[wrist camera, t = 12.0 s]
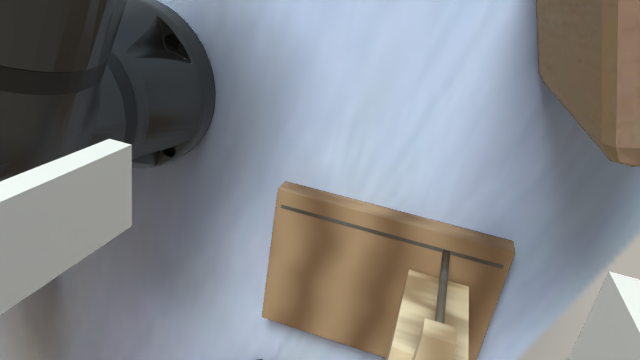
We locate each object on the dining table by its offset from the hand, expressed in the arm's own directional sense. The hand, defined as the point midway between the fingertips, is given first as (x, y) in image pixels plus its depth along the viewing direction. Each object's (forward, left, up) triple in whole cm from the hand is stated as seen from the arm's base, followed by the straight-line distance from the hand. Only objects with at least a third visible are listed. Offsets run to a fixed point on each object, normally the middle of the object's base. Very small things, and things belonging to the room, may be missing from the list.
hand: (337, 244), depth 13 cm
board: (0, -18, -27) cm, 32 cm away
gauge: (+5, -19, -26) cm, 33 cm away
